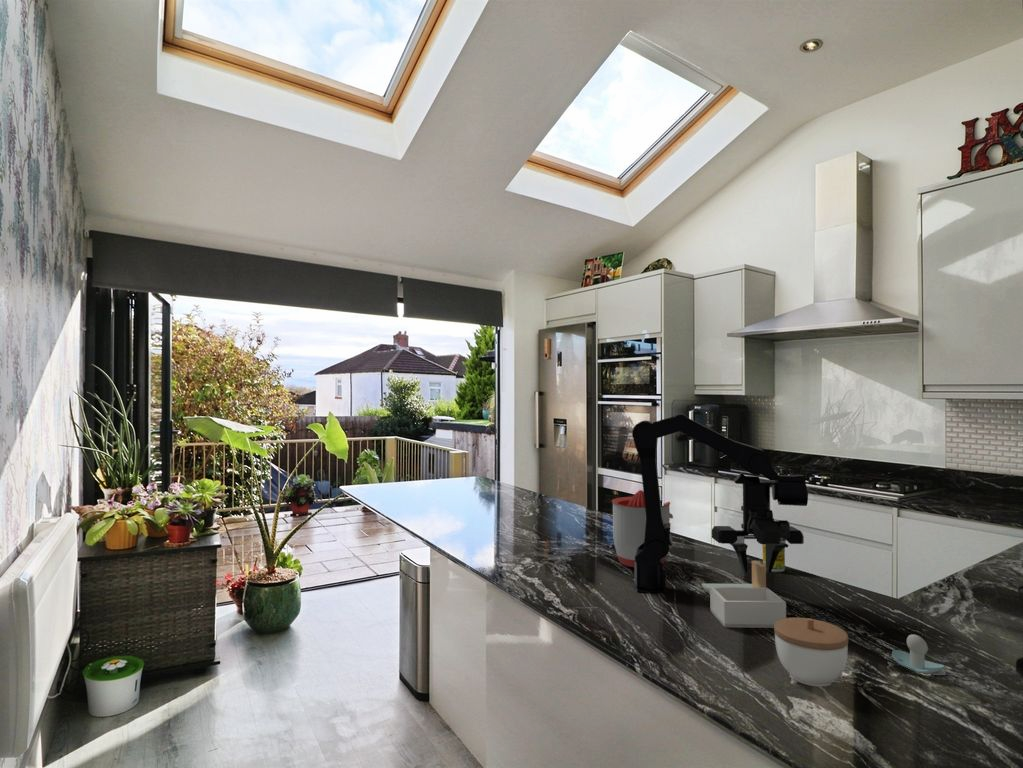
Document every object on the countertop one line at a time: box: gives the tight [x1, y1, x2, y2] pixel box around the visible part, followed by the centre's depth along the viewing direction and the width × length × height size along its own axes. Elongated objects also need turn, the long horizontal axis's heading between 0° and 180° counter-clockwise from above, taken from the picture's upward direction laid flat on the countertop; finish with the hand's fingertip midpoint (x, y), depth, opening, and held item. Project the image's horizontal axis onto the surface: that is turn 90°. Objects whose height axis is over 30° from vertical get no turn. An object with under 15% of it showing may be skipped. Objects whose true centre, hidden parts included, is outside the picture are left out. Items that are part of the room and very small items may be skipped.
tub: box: [709, 586, 787, 629], centre depth 120 cm, size 12×9×5 cm
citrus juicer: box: [611, 489, 674, 568], centre depth 161 cm, size 16×17×20 cm
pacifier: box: [891, 634, 946, 676], centre depth 98 cm, size 7×6×6 cm
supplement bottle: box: [761, 544, 786, 573], centre depth 155 cm, size 5×5×10 cm
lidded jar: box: [773, 617, 849, 688], centre depth 95 cm, size 11×11×9 cm
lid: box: [701, 560, 767, 595], centre depth 133 cm, size 12×9×8 cm
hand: (757, 573), depth 133 cm, fingers open, 5 cm apart
